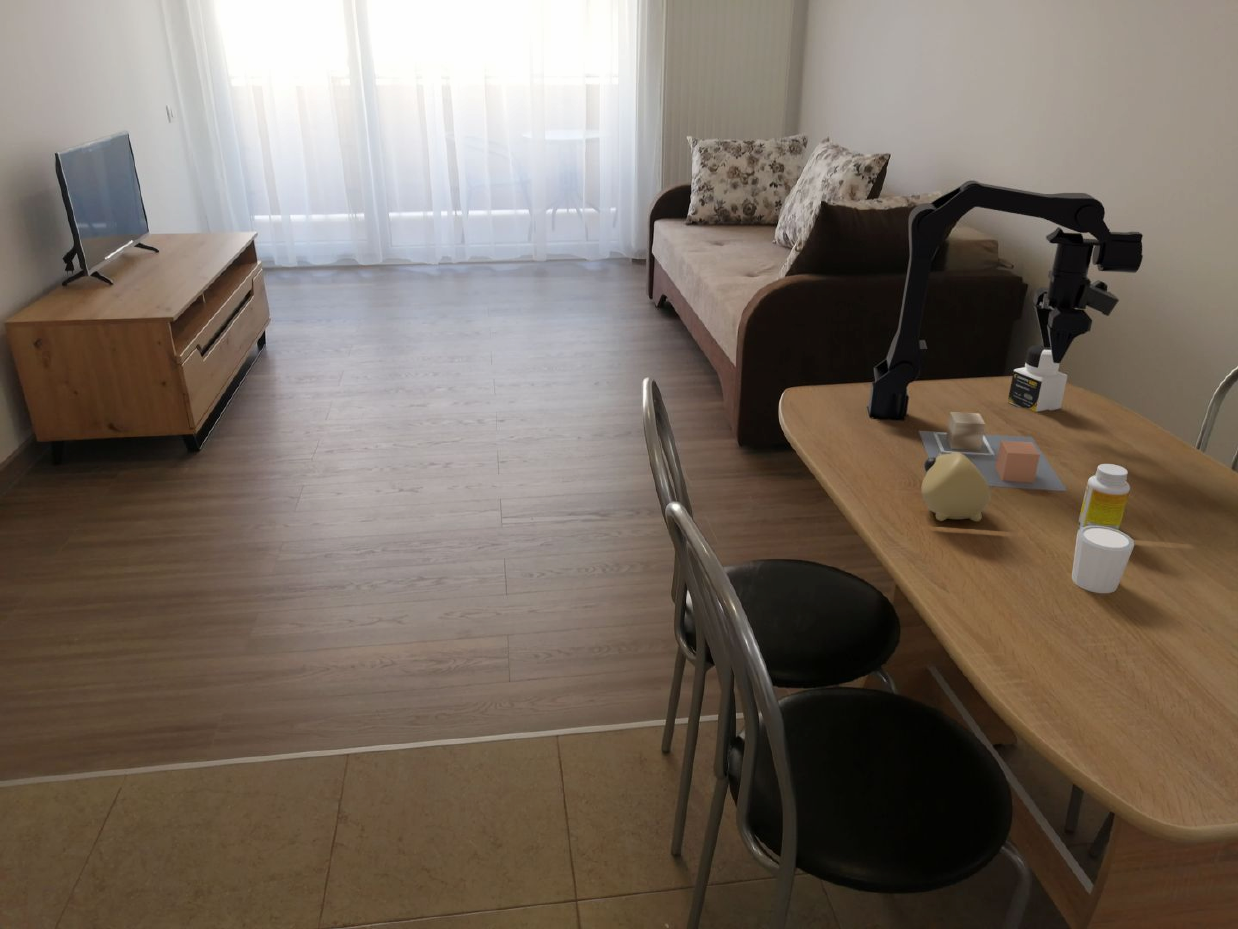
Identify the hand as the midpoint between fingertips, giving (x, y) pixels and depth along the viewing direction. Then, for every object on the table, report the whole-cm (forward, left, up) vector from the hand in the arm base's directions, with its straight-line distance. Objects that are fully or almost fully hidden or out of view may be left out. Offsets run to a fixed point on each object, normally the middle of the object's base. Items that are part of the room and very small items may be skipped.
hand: (1051, 354), depth 170 cm
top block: (-9, -23, -14) cm, 29 cm away
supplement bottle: (-1, -40, -15) cm, 43 cm away
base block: (-15, -11, -14) cm, 23 cm away
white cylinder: (-6, -55, -15) cm, 57 cm away
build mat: (-12, -17, -14) cm, 26 cm away
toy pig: (-22, -38, -15) cm, 47 cm away
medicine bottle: (+3, +12, -15) cm, 19 cm away
